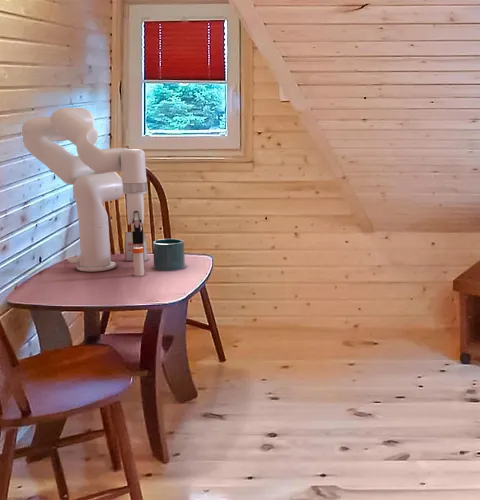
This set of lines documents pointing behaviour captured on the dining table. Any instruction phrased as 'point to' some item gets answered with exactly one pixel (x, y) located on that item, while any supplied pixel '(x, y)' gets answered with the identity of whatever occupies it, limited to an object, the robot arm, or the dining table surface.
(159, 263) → the mug
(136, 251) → the glue stick
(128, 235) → the white printed carton
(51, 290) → the dining table surface
